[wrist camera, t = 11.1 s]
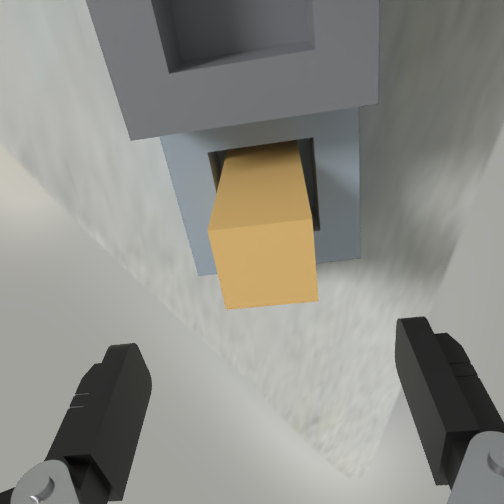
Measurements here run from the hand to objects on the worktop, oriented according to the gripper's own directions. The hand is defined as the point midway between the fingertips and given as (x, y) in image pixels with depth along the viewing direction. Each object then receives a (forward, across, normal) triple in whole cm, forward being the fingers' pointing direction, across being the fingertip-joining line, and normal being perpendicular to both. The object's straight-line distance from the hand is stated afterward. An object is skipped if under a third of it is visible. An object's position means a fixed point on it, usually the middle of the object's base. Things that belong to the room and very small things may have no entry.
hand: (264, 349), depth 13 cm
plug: (+14, 0, 0) cm, 15 cm away
